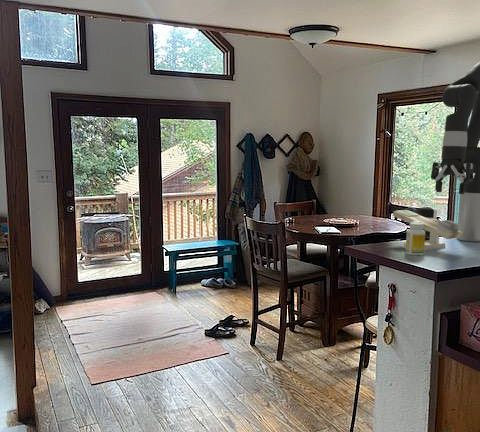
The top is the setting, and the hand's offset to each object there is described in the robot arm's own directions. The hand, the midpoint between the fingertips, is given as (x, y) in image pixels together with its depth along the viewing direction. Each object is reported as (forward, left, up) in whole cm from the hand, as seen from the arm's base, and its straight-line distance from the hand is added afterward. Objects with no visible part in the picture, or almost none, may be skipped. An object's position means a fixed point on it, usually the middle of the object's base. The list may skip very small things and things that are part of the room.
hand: (449, 193), depth 165 cm
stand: (+14, +2, -17) cm, 22 cm away
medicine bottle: (+3, -6, -18) cm, 19 cm away
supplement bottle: (+25, +7, -18) cm, 31 cm away
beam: (+14, +2, -9) cm, 17 cm away
